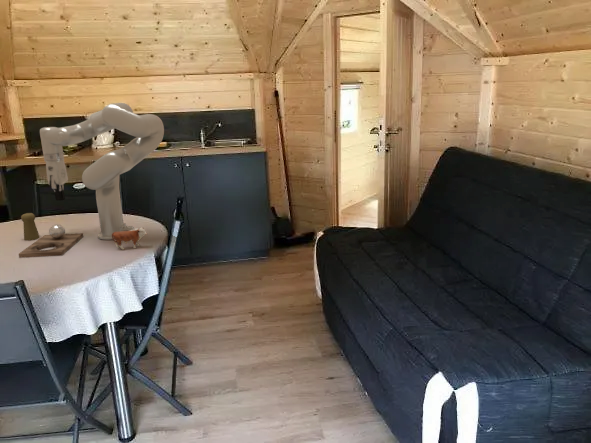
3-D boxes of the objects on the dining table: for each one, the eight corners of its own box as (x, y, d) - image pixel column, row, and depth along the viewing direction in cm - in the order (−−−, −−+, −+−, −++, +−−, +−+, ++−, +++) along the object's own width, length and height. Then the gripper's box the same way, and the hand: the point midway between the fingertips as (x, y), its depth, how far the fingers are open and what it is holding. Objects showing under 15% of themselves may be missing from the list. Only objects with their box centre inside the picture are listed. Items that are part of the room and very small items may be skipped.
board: (45, 238, 210) (44, 234, 210) (83, 236, 211) (82, 233, 211) (19, 257, 187) (18, 253, 187) (62, 255, 188) (61, 251, 188)
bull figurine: (148, 248, 193) (145, 228, 191) (112, 250, 192) (110, 231, 189) (149, 244, 197) (147, 225, 195) (115, 247, 196) (112, 227, 193)
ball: (68, 235, 207) (66, 222, 206) (63, 240, 202) (60, 226, 200) (53, 236, 207) (51, 222, 205) (48, 240, 201) (45, 227, 200)
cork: (33, 240, 207) (28, 215, 204) (20, 240, 208) (15, 215, 205) (42, 236, 213) (38, 212, 210) (30, 235, 214) (26, 211, 211)
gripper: (56, 159, 197) (62, 203, 202) (69, 154, 211) (75, 195, 216) (36, 160, 197) (44, 204, 202) (51, 154, 211) (58, 196, 216)
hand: (60, 199), depth 209 cm, fingers closed
